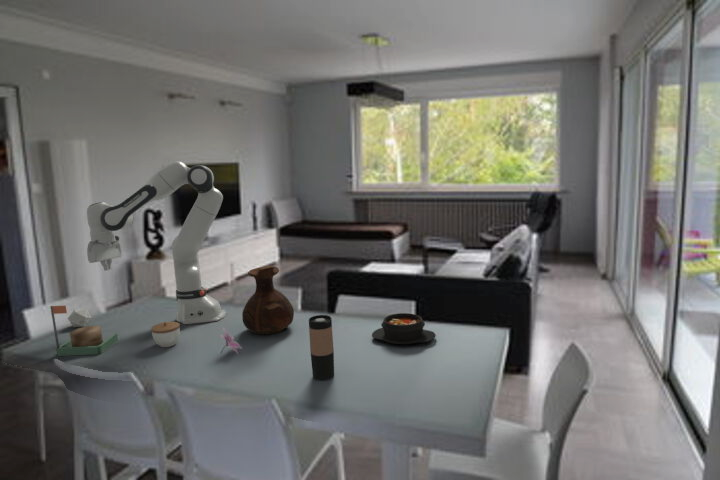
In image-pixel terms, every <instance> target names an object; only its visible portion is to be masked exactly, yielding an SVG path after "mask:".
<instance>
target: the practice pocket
mask: <svg viewBox="0 0 720 480" xmlns="http://www.w3.org/2000/svg"><path fill="white" fill-rule="evenodd" d="M49 307H50V313H51V317H52V319H51V320H52V326H53V332H54V338H55V344H56V356H57V357H60V356H62V357H63V356H85V355H86V356H87V355H88V356H89V355H101V354H102V353H104V352H105V351H106V350H107V349H109V348H110V347H112V346H113V345H114V344H115V343H117V342H118V341H119V337H118V336H119V335H118V333H114V334H113V335H111V336H110V337H108V338H106V340H104V341H103V343H101V344H100V345H99V346H84V347H72V344H71V338H70V339H69V340H67V341H66V342H64V343H63V344H61V345H59V343H60V342H59V337H58V331H57V326H56V323H57V322H56V317H55V315H59V314H60V315H61V314H67V312H68V310H67V306H66V305H50V306H49Z"/></svg>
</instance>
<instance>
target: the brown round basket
mask: <svg viewBox="0 0 720 480" xmlns="http://www.w3.org/2000/svg"><path fill="white" fill-rule="evenodd" d="M102 332H103V331H102V328H101V326H99V325H89V326H85V327H78V328H76V329H74V330H72V331H70V332H69V338H70V339H71V344H72V347H84V346H99V345H100V344H101V343H103V342H104V341H103V334H102Z"/></svg>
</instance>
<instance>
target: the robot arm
mask: <svg viewBox="0 0 720 480" xmlns="http://www.w3.org/2000/svg"><path fill="white" fill-rule="evenodd" d="M214 183H215V175H214V173H213V171H212V170H211V169H210V168H209V167H208V166H205V165H201V164H196V165H193V166H191V167H188V165H187V164H186V163H184V162H183V161H180V160H176V161H173V162H170V163H168V164H167V165H166V166H164V167H163V168H161V169H160V170H159V171H156V172H155V174H154V175H153V176H150V178H149V179H148V180H146V182H145V183H144V185H142V186H141V187H140V188H139V189H138V190H137V191H136V192H134V193H133V194H131V195H130V196H129V197H127V198H126V199H125V200H124V201H122V202H121V203H118V204H116V205H111V204H108V203H107V202H105V201H100V202H95V203H92V204H90V205H89V206H88V207H87V208H86V218H87V225H88V227H89V232H90V233H89V236H90V241H89V242H88V244H87V248H86V250H87V251H86V252H87V254H86V255H87V261H88V262H89V263H90V264H91V263H92V264H93V263H98V262H100V264H101V266H102V267H103V271H105V272H106V271H110V270H112V262H113V260H114V259H117V258H121V257H122V255H123V253H122V252H123V251H122V250H123V249H122V246H121V245H122V244H121V242H120V241H121V238H120V236H119V235H116V234H114V233H113V232H115V231H119V230H125V229H127V228H129V227H130V226H132V225H133V222H134V213H136V212H137V211H138V210H139V209H142V208H143V206H145V205H147V204H149V203H152V202H154V201H160V200H163V199H165V198H167V197H168V196H170V195H172V194H173V193H175V192H176V191H177V190H178V189H180V188H181V187H182V186H184V185H190V186H191V187H192V188H193V189H194V190H195V191H196V192H197V194H198V195H197V198H196V200H195V202H194V203H193V205H192V208H191V209H190V211H189V213H188V214H187V216H186V219H185V221H184V222H183V224H182V227H181V228H180V231H179V233H178V235H177V236H175V237H174V239H173V240H172V242H171V248H172V249H171V253H172V260H173V268H174V278H175V286H176V288H175V298H176V302H177V314H176V319H175V320H176V322H177V323H182V325H191V324H202V323H210V322H218V321H220V320H223V319H224V318H225V317H226V315H227V311H226V309H222V308H221V305H220V302H219V301H218V300H217V299H215V298H213V297H211V296H210V295H208V294H207V290H208V288H207V287H203V286H202V279H201V277H202V276H201V268H200V261H199V254H198V253H199V252H200V249H201V247H202V245H203V243H204V241H205V239H206V237H207V235H208V232H209V230H210V228H211V226H212V225H213V223H214V221H215V218H216V217H217V215H218V213H219V210H220V209H221V206H222V203H223V200H224V195H223V194H222V192H221V191H220V190H219V189H217V188H215V186H214ZM112 259H113V260H112Z"/></svg>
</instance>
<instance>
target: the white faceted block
mask: <svg viewBox="0 0 720 480" xmlns="http://www.w3.org/2000/svg"><path fill="white" fill-rule="evenodd" d="M91 319H92V315H91V314H90V313H89V311H88V310H87V309H86V308H75V309H73V311H72V312H71V314H70V315H69V316H68V317H67V320H68V321H69V322H70V324H71V325H72V327H73V328H82V327H87V325H88V323H89V322H90V321H91Z"/></svg>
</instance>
